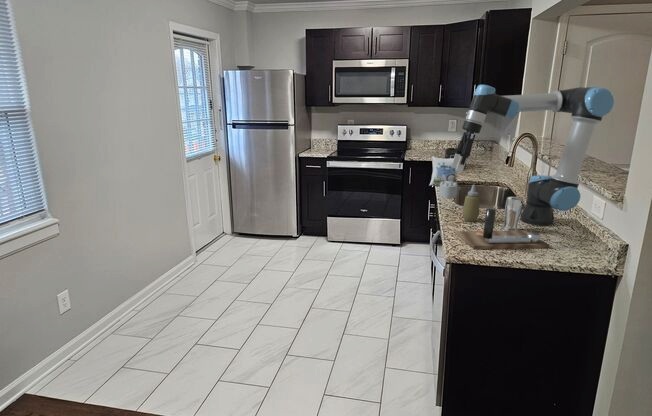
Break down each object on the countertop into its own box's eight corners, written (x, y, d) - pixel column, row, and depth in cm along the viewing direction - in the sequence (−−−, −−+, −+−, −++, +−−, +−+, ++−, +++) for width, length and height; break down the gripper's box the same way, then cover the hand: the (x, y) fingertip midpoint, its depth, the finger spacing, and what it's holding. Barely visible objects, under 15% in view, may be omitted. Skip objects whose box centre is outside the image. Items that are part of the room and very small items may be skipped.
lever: (535, 238, 178) (540, 207, 174) (542, 243, 173) (547, 210, 169) (480, 239, 176) (484, 207, 172) (485, 244, 171) (489, 211, 167)
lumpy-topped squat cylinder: (457, 194, 260) (458, 180, 258) (455, 199, 248) (457, 184, 246) (439, 192, 264) (441, 179, 261) (437, 197, 252) (439, 183, 249)
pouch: (428, 184, 287) (430, 155, 281) (456, 185, 285) (459, 155, 280) (430, 186, 279) (432, 156, 273) (459, 187, 278) (462, 157, 272)
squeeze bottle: (465, 216, 214) (468, 182, 209) (480, 220, 209) (485, 184, 204) (458, 220, 208) (462, 184, 203) (474, 223, 203) (479, 187, 198)
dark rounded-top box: (460, 171, 335) (462, 151, 331) (439, 167, 347) (441, 149, 343) (470, 168, 348) (472, 149, 344) (450, 165, 360) (452, 147, 355)
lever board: (522, 232, 192) (523, 228, 191) (548, 247, 173) (549, 244, 172) (455, 233, 189) (455, 229, 189) (473, 249, 170) (474, 245, 170)
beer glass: (498, 228, 197) (503, 197, 193) (510, 226, 199) (514, 196, 195) (510, 232, 191) (514, 200, 187) (521, 231, 193) (526, 199, 189)
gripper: (460, 119, 190) (444, 164, 196) (470, 119, 166) (452, 170, 171) (476, 124, 190) (459, 169, 195) (489, 125, 166) (469, 176, 171)
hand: (456, 170), depth 183 cm, fingers open, 13 cm apart
